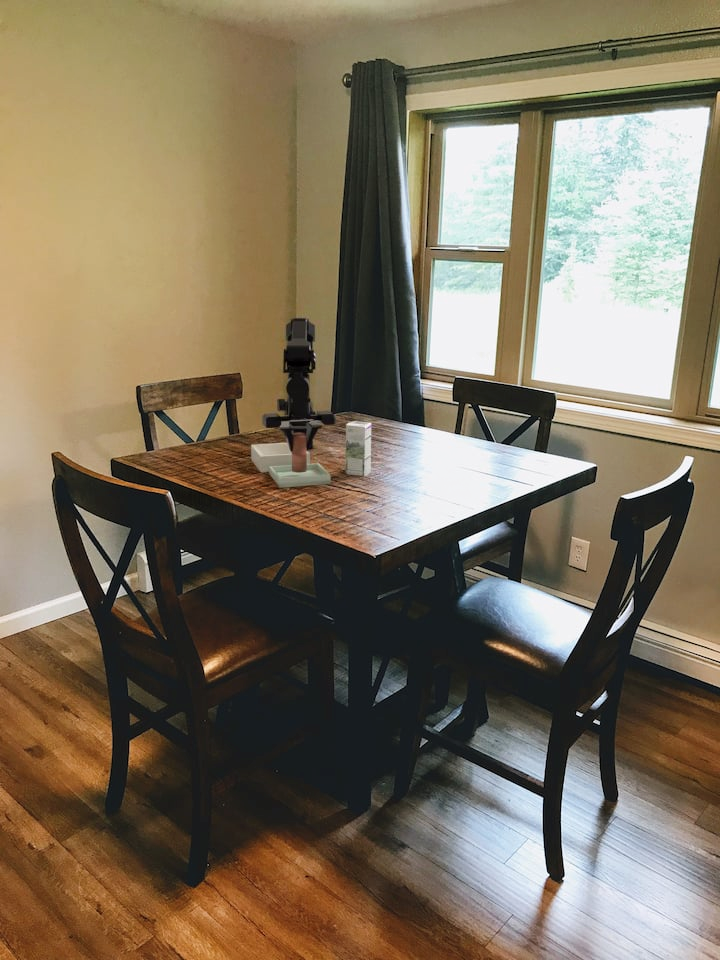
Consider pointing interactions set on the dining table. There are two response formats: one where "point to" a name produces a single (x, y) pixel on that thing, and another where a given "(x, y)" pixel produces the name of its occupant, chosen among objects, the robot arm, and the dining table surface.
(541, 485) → the dining table surface
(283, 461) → the square storage bin
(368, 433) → the syrup box
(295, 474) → the tray
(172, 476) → the dining table surface
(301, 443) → the dowel pin
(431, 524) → the dining table surface
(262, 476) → the dining table surface
